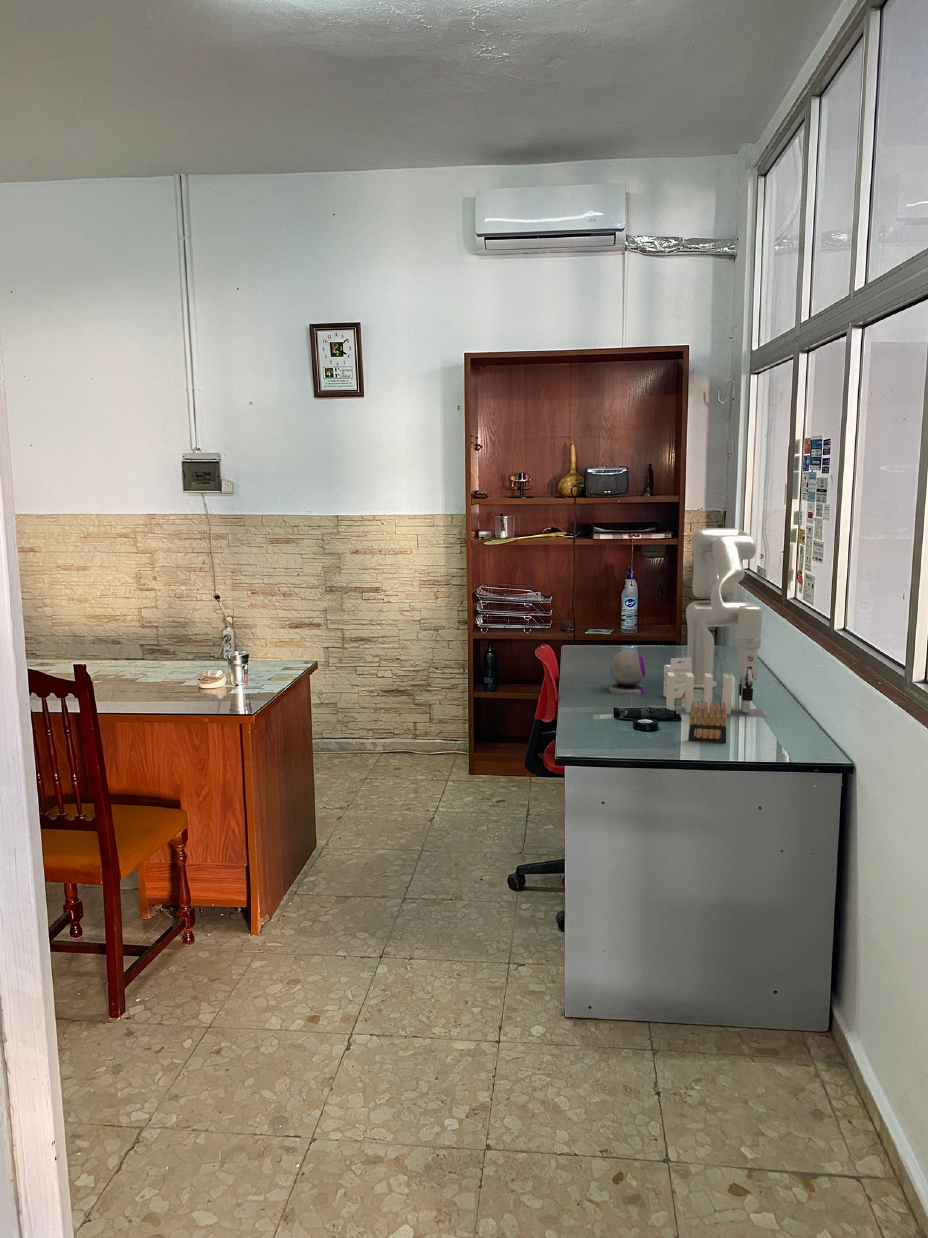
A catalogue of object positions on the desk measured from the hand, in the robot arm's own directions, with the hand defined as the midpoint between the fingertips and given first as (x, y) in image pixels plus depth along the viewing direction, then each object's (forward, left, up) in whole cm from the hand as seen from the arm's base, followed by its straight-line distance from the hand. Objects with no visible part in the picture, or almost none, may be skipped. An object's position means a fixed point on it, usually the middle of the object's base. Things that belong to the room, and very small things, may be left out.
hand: (745, 697), depth 296 cm
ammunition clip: (+34, -16, -6) cm, 38 cm away
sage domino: (0, 0, -4) cm, 4 cm away
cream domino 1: (0, -24, -5) cm, 25 cm away
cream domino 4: (0, -6, -5) cm, 8 cm away
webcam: (-28, -37, -6) cm, 47 cm away
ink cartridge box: (-20, -20, -6) cm, 29 cm away
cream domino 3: (0, -12, -5) cm, 13 cm away
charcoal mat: (0, -12, -6) cm, 13 cm away
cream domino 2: (0, -18, -5) cm, 19 cm away
